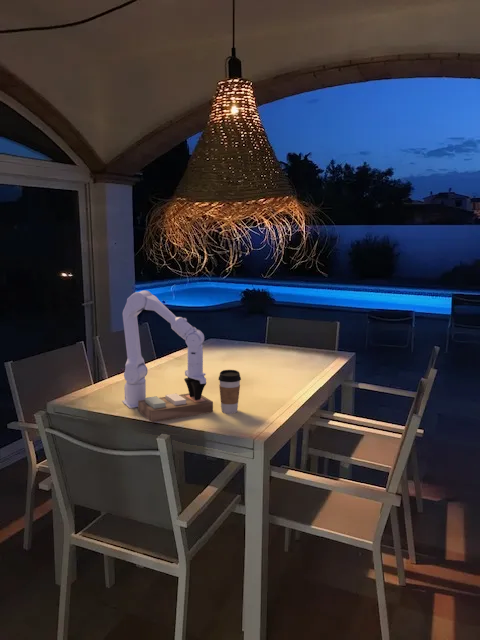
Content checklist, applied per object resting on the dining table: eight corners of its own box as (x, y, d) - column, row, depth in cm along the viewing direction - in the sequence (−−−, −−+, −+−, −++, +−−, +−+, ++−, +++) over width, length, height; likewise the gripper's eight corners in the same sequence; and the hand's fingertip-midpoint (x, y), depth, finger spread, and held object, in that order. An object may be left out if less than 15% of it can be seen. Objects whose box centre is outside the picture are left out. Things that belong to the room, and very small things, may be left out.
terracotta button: (185, 405, 206) (185, 395, 205) (195, 404, 208) (195, 394, 207) (194, 412, 198) (194, 401, 198) (205, 410, 200) (205, 400, 200)
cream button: (165, 405, 202) (165, 394, 201) (176, 403, 204) (176, 393, 203) (174, 411, 194) (174, 401, 193) (186, 410, 196) (186, 399, 196)
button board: (138, 410, 199) (138, 400, 199) (196, 402, 211) (196, 392, 210) (151, 422, 187) (151, 411, 187) (212, 412, 199) (213, 401, 198)
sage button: (145, 408, 198) (145, 397, 197) (156, 406, 200) (156, 396, 199) (154, 415, 190) (153, 404, 189) (165, 413, 192) (165, 402, 192)
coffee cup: (240, 407, 204) (240, 369, 202) (240, 415, 196) (241, 375, 194) (218, 407, 204) (218, 369, 202) (217, 414, 196) (218, 375, 194)
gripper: (213, 365, 196) (213, 401, 198) (196, 358, 209) (196, 391, 211) (196, 367, 193) (196, 404, 195) (179, 359, 205) (180, 394, 207)
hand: (195, 397), depth 202 cm, fingers open, 4 cm apart
